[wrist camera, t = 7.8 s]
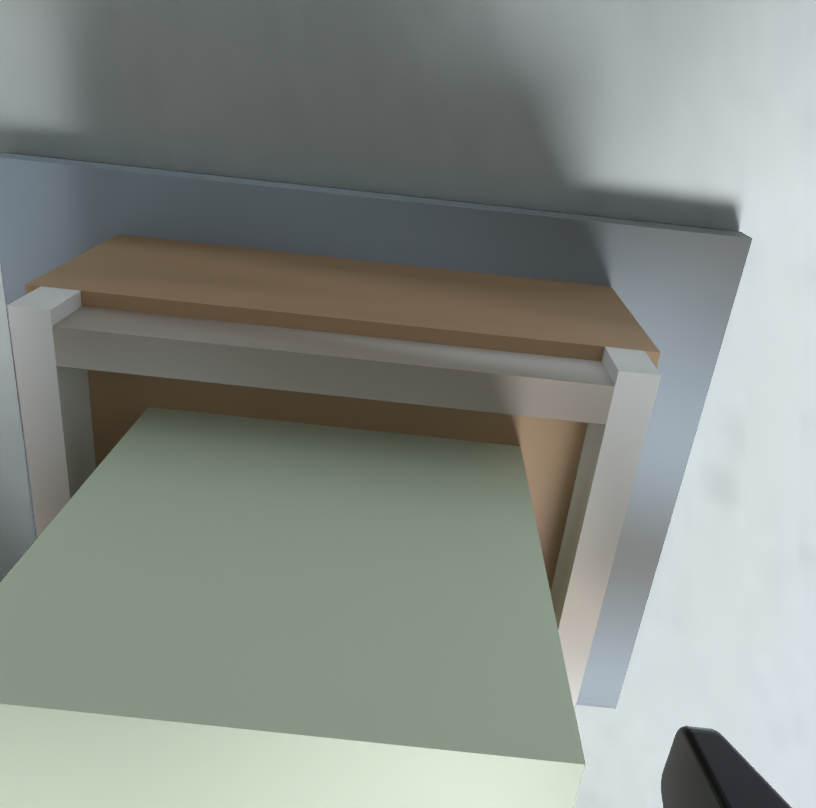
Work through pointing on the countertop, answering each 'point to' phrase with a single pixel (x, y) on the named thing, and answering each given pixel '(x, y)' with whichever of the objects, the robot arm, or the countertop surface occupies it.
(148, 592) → the sage block
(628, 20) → the countertop surface
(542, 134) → the countertop surface
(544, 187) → the countertop surface
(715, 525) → the countertop surface
